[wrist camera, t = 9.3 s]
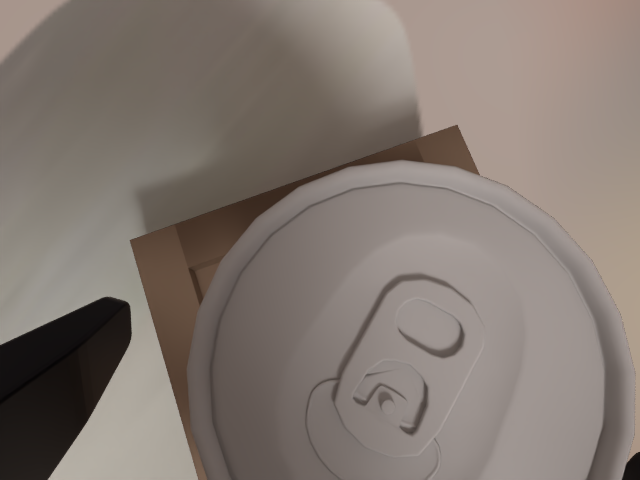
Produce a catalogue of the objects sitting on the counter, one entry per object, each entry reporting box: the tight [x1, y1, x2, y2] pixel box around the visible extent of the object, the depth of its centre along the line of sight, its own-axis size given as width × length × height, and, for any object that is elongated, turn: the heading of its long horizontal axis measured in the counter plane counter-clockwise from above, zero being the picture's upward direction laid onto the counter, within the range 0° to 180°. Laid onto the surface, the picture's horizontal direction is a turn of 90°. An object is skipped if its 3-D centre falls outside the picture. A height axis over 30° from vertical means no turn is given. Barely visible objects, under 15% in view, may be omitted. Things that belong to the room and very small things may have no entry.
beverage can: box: [187, 160, 635, 480], centre depth 11 cm, size 5×5×12 cm
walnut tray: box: [130, 125, 480, 480], centre depth 17 cm, size 12×12×2 cm
